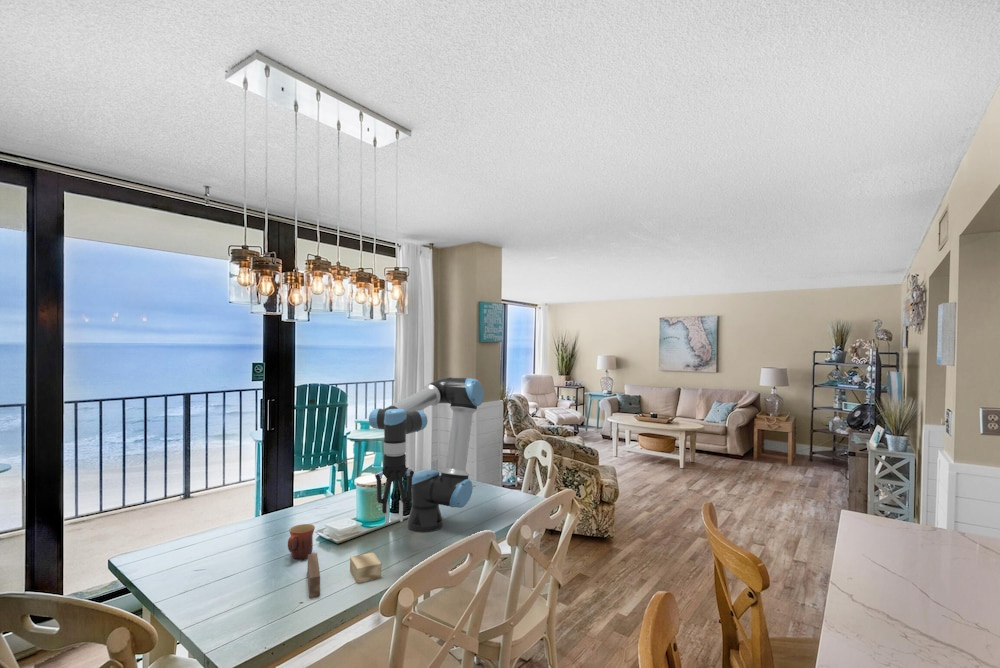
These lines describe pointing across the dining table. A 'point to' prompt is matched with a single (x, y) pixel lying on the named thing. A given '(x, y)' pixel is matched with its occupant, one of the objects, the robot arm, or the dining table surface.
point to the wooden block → (313, 575)
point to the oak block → (365, 567)
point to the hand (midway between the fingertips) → (393, 520)
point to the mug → (301, 541)
